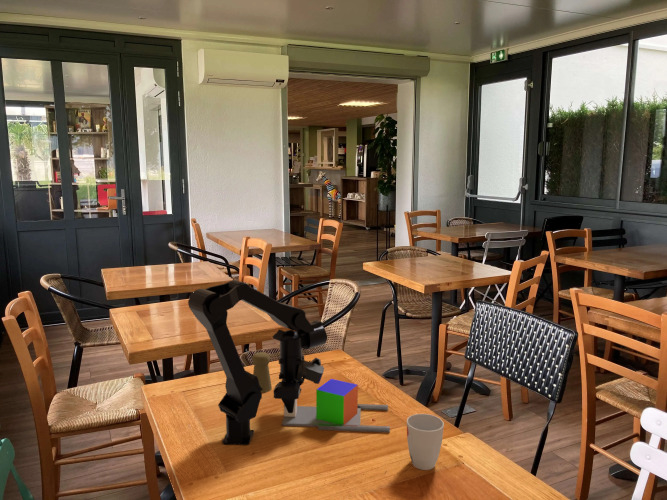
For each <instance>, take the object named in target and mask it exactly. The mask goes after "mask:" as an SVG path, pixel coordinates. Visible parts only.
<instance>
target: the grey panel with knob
mask: <svg viewBox="0 0 667 500" xmlns="http://www.w3.org/2000/svg"><path fill="white" fill-rule="evenodd" d="M361 411H362V410H361V408H357V414H356V415H355V416H354V417H353V418H352V419H350V420H349V421H348V422H347V423H346V424H345V425H361ZM318 424H335V423H331V422H327V421H324V420H320V419H316V406H303V405H301V406H300V405H298V399H295V403H294V408H293V413H288V411H287V409H286V407H285V405H284V404H283V419H282V421H281V426H288V427H311V428H312V427H315V428H318Z"/></svg>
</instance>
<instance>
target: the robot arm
mask: <svg viewBox="0 0 667 500" xmlns="http://www.w3.org/2000/svg"><path fill="white" fill-rule="evenodd" d="M187 301H188V302H187V304H188V308H189V310H190V311H191V312H192V314H193V316H194V317H195V319H197V321H198V322H199V323H200V324H201V325H202V326H203V327H204V328H205V330H206V332H207V334H208V337H209V338H210V341H211V343H212V346H213V348H214V351H215V353H216V355H217V358H218V360H219V363H220V365H221V368H222V370H223V373H224V375H225V378H226V380H225V391H226V392H225V394H224V396H223V397H222V398H221V400H220V401H219V403H218V405H217V406H218V408H219V411H220V412H222V413H224V414H225V429H226V430H225V431H226V432H225V433H226V434H225V435H224V438H223V439H222V441H221V444H223V445H238V446H239V445H241V446H243V445H244V446H248V445H250V443H251V442H252V441H251V440H252V438H253V436H254V433H255V430H254V429H251V420H252V419H255V418H256V417H257V413H258V410H259V407H260V403H261V400H262V399H263V395H262V394H263V393H261V390H263V389H262V388H261V387H260V385H259V380H258V378H257V376H255V375H253V373H251V372H249V371H247V370H246V369H245V367H244V365H243V362H242V359H241V357H240V355H239V352H238V350H237V347H236V344H235V341H234V339H233V337H232V334H231V332H230V330H229V327H228V325H227V322H228V321H227V320H228V315H229V314H228V313H229V312H228V310H230V309H232V308H234V307H235V306H236V305H237V304H238V303H239V302H244V303H245V304H247V305H249V306H252V307H254V308H255V309H257V310H259V311H260V312H263V313H265V314H267V315H268V316H269V317H270V319H271V320H273V322H274V323H276V324H277V325H278V326H280V327H284V328H286V329H288V330H282V329H278V331H276V332H275V333H274V334H273V335H272V339H274V340H276V341H279V358H278V365H279V366H280V367H279V374H278V379H279V380H281V381H279V382H277V384H276V385H275V386H274V389H273V398H274V399H277V400H280V399H281V400H282V404H283V406H284V405H285V407H286V409H287V411H288V413H293V408H294V403H295V399H297V400H298V399H299V398H300V395H301V392H302V388H301V386H302V385H303V384H304V382H305V381H310V382H312V383H314V384H316V385H319V384H320V382H321V380H322V377H323V374H324V371H325V368H324V365H322V361H321V359H320V358H318V357H314V358H313V359H312V360H305V355H304V354H303V349H304V350H309V349H310V350H311V349H313V348H317V347H320V346H323V345H325V344H326V343H327V341H328V334H327V331H326V329H325V327H324V326H323V322H322V321H320V320H317V319H316V320H313V321H309V320H308V319H307V317H306V314H307V313H306V311H305V310H303V309H302V308H299V307H296V306H293V305H290V304H285V303H283V302H280V301H278V300H275V298H272V297H270V296H268V295H266V294H264V293H263V292H261V291H259V290H257V289H256V288H254V287H252V286H250V285H249V284H248V283H247V282H243V281H240V280H237V279H232V280H229V281H227V282H225V283H221V284H218V285H217V284H216V285H213V286H208V287H207V288H198V289H195V290H194V291H192V293H191V294H190V296H189V299H188V300H187Z"/></svg>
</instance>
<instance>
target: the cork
mask: <svg viewBox="0 0 667 500" xmlns="http://www.w3.org/2000/svg"><path fill="white" fill-rule="evenodd" d="M251 361H252V364H253V370H252V371H253V373H252V374H253V375H255V376H257V378H258V380H259V385H260V387H261V388H262V389H263V390H261V393H262V394H264V393H268V392H270V391H271V390H272V381H271V375H270V368H269V365H270V361H271V357H270V354H268V353H267V352H264V351H261V352H256V353H254V354H253V355H252V358H251Z"/></svg>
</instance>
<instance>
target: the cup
mask: <svg viewBox="0 0 667 500" xmlns="http://www.w3.org/2000/svg"><path fill="white" fill-rule="evenodd" d="M444 426H445V423H444V421H443V420H442V419H441V418H440V417H438V416H436V415H433V414H430V413H429V414H428V413H415V414H412V415H410V416H408V417H407V418H406V438H407V439H406V440H407V446H408V447H407V448H408V453H409V454H408V455H409V456H410V460H411V463H412V466H413V467H414V468H416V469H418V470H422V471H430V470H432V469H434V468H435V466H436V464H437V461H438V459H439V455H440V452H441V447H442V444H443V435H444Z"/></svg>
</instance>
